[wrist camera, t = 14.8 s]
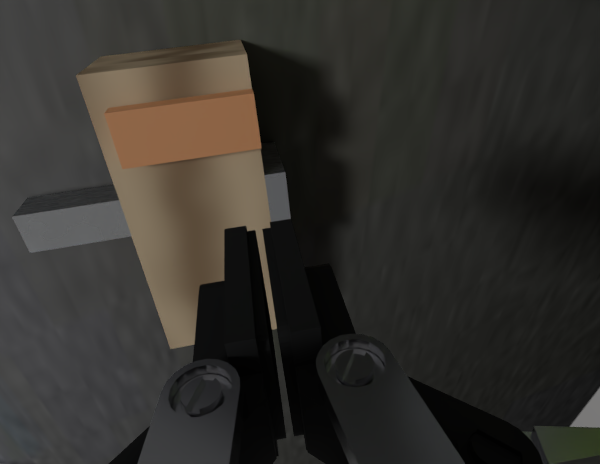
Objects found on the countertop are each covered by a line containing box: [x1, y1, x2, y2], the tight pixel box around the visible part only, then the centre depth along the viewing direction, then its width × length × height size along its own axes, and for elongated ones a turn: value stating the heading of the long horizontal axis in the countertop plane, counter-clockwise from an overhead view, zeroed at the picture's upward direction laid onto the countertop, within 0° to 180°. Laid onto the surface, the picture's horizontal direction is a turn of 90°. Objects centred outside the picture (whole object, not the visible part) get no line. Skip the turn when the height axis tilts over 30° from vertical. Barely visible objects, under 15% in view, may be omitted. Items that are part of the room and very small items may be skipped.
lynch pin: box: [12, 142, 291, 253], centre depth 27 cm, size 16×5×5 cm, turn 95°
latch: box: [104, 89, 262, 169], centre depth 22 cm, size 7×3×1 cm, turn 95°
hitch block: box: [76, 40, 277, 349], centre depth 28 cm, size 8×18×5 cm, turn 5°
